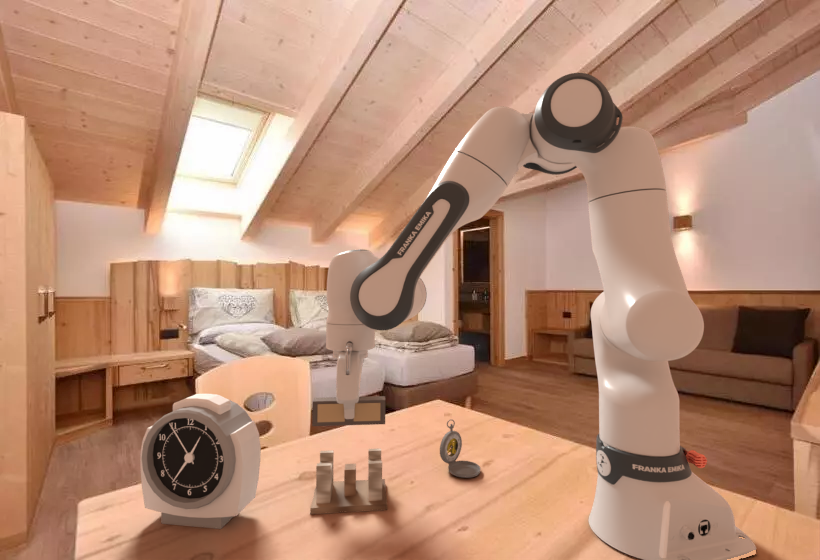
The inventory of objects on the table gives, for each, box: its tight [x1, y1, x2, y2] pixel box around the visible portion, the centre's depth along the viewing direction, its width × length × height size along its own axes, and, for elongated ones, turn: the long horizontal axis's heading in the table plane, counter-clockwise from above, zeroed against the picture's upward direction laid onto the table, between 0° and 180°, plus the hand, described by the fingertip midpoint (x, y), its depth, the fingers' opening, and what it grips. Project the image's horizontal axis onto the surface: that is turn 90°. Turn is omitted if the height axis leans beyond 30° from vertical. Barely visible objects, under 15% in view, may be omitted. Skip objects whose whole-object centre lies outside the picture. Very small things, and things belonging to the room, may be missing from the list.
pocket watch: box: [439, 419, 481, 479], centre depth 84 cm, size 8×8×10 cm
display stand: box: [309, 448, 388, 515], centre depth 73 cm, size 13×9×8 cm
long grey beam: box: [311, 395, 386, 427], centre depth 73 cm, size 13×2×4 cm, turn 96°
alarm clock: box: [139, 393, 262, 530], centre depth 67 cm, size 18×8×20 cm, turn 82°
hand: (349, 414), depth 73 cm, fingers closed on long grey beam, 2 cm apart
